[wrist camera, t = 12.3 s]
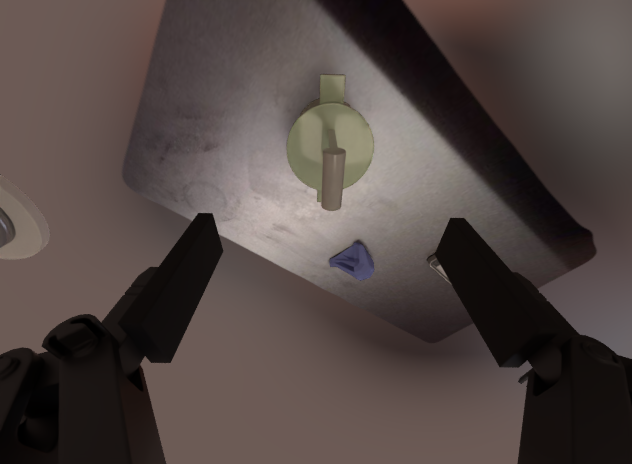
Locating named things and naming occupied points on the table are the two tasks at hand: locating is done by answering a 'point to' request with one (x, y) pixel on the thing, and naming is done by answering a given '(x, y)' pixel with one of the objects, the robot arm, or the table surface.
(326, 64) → the table surface
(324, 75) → the pot
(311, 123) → the lid
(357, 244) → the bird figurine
